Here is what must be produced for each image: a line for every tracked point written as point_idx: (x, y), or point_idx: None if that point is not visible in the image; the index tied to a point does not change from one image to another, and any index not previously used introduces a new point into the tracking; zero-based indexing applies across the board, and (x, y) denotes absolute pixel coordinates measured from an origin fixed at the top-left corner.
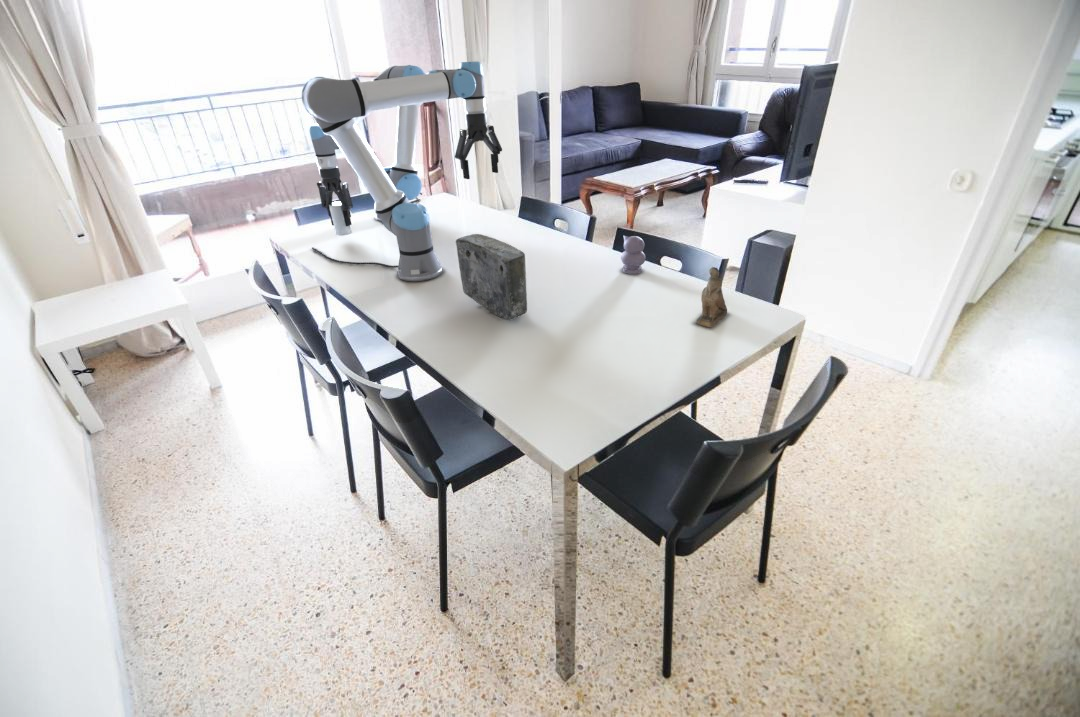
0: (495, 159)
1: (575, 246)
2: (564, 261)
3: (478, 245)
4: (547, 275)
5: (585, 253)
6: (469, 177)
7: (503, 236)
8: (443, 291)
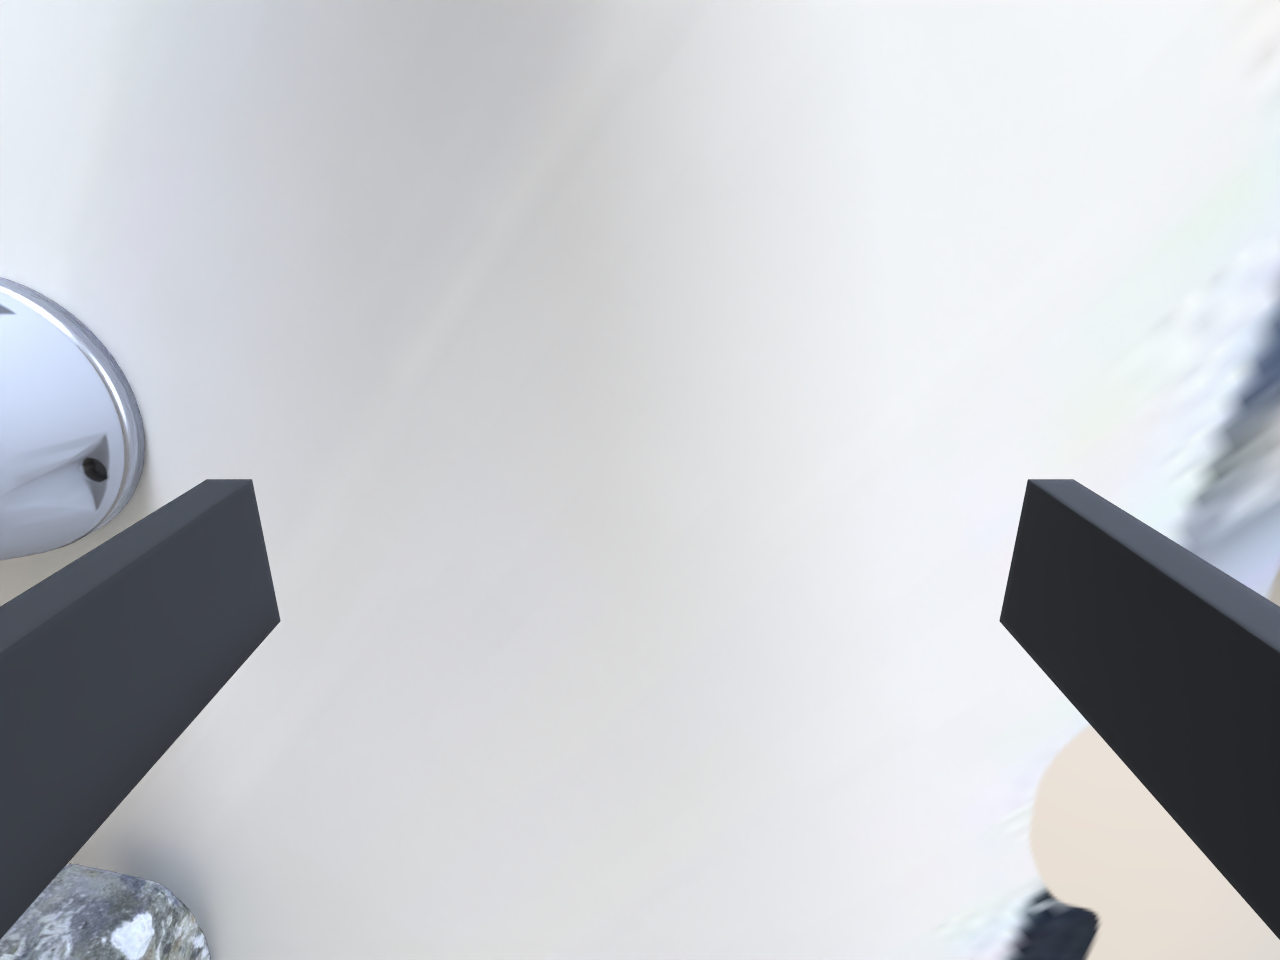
0: (1198, 835)
1: (974, 747)
2: (743, 839)
3: None
4: (550, 889)
5: (905, 842)
6: (261, 637)
7: (879, 237)
8: None
